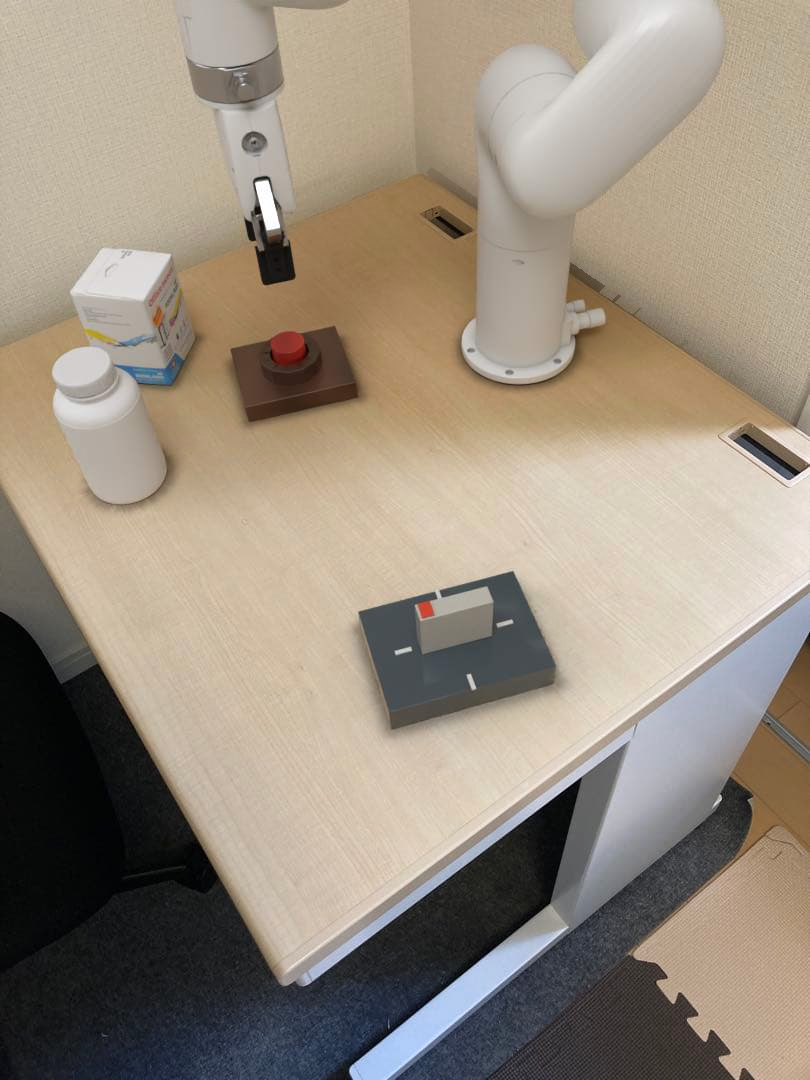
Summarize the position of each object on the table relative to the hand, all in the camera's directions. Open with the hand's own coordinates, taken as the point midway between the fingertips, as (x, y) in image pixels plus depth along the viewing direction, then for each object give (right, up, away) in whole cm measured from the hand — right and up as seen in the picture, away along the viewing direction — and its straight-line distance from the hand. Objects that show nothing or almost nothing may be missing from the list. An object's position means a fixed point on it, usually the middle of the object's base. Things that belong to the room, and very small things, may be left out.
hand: (271, 257), depth 88 cm
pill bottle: (-15, -21, +5) cm, 26 cm away
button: (+1, -8, +10) cm, 12 cm away
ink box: (-16, -7, +16) cm, 24 cm away
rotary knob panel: (+17, -37, -10) cm, 42 cm away
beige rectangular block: (+17, -35, -13) cm, 41 cm away
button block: (+1, -10, +12) cm, 16 cm away
